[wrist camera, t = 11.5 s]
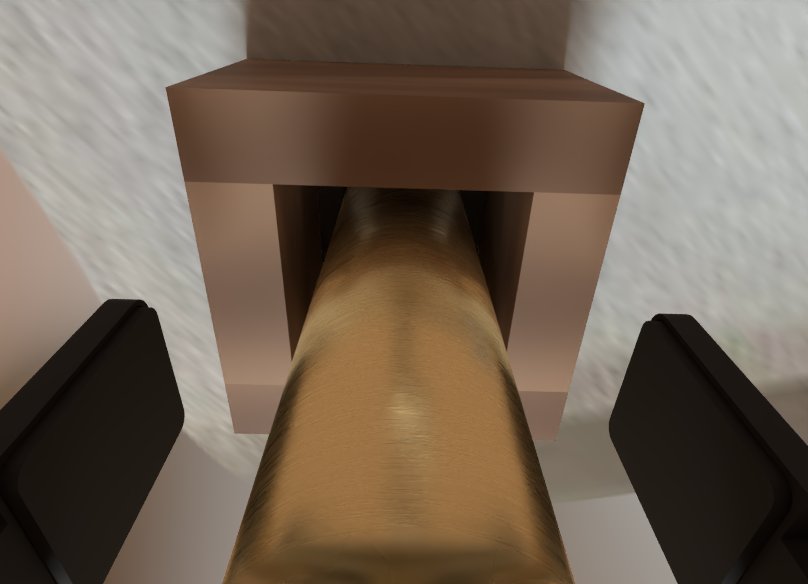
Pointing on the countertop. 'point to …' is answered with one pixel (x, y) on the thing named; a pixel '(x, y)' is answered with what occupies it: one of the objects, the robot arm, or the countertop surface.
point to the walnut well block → (399, 168)
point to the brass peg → (400, 420)
